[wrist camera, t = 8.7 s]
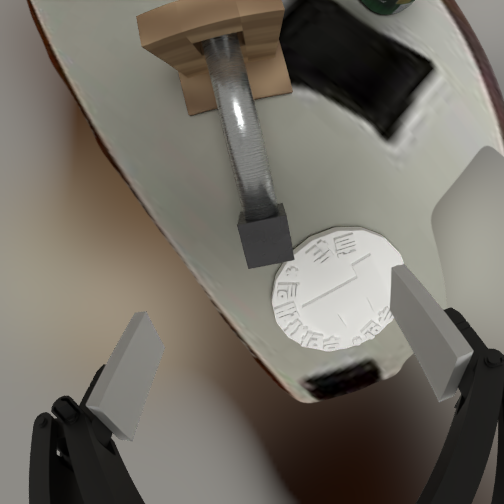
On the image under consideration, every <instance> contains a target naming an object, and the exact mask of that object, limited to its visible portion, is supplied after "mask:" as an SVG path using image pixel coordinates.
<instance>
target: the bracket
mask: <svg viewBox="0 0 504 504" xmlns="http://www.w3.org/2000/svg"><path fill="white" fill-rule="evenodd" d="M284 10H285V9H284V6H283V4H282V1H281V0H178V1H175V2H172V3H169V4H166V5H163V6H161V7H158V8H155V9H153V10H150V11H148V12H145V13H143V14H141V15H138V16H136V17H137V23H138V29H139V35H140V40H141V45H142V47H143V48H144V49H146V50H147V51H149V52H151V53H152V54H154V55H155V56H157V57H158V58H160V59H161V60H163V61H164V62H166V63H167V64H169V65H170V66H172V67H173V68H175V69H176V70H178V73H179V77H180V81H181V85H182V90H183V94H184V98H185V102H186V106H187V110H188V114H189V115H190V116H192V115H196V114H199V113H203V112H206V111H210V110H214V109H217V108H218V107H217V103H216V99H215V95H214V91H213V87H212V83H211V79H210V75H209V71H208V67H207V63H206V58H205V54H204V50H203V46H202V42H201V41H203V40H207V39H210V38H214V37H218V36H222V35H226V34H230V33H235V32H236V33H237V36H238V40H239V44H240V48H241V51H242V55H243V59H244V63H245V66H246V70H247V74H248V78H249V82H250V86H251V90H252V94H253V98H254V100H256V99H261V98H266V97H271V96H277V95H283V94H289V93H292V92H293V91H292V87H291V83H290V79H289V75H288V71H287V67H286V64H285V60H284V56H283V53H282V49H281V46H280V42H279V35H280V30H281V25H282V20H283V15H284Z"/></svg>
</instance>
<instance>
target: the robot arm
mask: <svg viewBox="0 0 504 504" xmlns="http://www.w3.org/2000/svg"><path fill="white" fill-rule="evenodd" d="M390 312H391V313H392V315H393V317H394V318H395V320H396V322H397V323H398V325H399V327H400V329H401V330H402V332H403V334H404V336H405V337H406V339H407V341H408V343H409V345H410V346H411V348H412V350H413V352H414V354H415V356H416V357H417V359H418V361H419V363H420V365H421V367H422V369H423V371H424V373H425V375H426V376H427V379H428V381H429V383H430V384H431V387H432V389H433V391H434V392H435V395H436V397H437V399H438V401H439V402H441V401H443V400H446V399H447V398H450V397H452V396H454V395H455V393H456V390H457V388H459V390H460V392H461V396H460V398H459V400H458V401H457V403H456V405H455V408H456V412H455V414H454V418H453V421H452V424H451V427H450V430H449V433H448V435H447V438H446V440H445V443H444V446H443V448H442V451H441V453H440V456H439V458H438V460H437V463H436V465H435V467H434V469H433V471H432V473H431V475H430V477H429V480H428V482H427V484H426V486H425V487H424V489H423V491H422V493H421V495H420V497H419V499H418V500H417V502H416V504H471V503H472V501H473V499H474V496H475V494H476V491H477V489H478V486H479V484H480V481H481V478H482V475H483V473H484V470H485V467H486V463H487V460H488V457H489V454H490V450H491V447H492V443H493V439H494V435H495V431H496V426H497V422H498V454H497V467H496V476H495V484H494V491H493V497H492V502H491V504H504V355H503V354H502V353H501V352H500V351H498V350H496V349H488V348H487V347H486V345H485V344H484V343H483V341H482V340H481V339H480V338H479V336H478V335H477V334H476V332H475V331H474V330H473V329H472V327H470V325H469V323H468V322H466V320H465V318H464V317H463V316H462V315H461V314H460V313H459V312H458V311H456V310H455V309H453V308H448V309H445V310H443V309H442V308H441V307H440V305H439V304H438V303H437V302H436V300H435V299H434V298H433V297H432V296H431V294H430V293H429V292H428V291H427V290H426V288H425V287H424V286H423V285H422V284H421V283H420V281H419V280H418V279H417V278H416V277H415V276H414V274H413V273H412V272H411V271H410V270H409V269H408V268H407V267H406V265H405V264H402V265H398V266H394V267H391V295H390ZM164 349H165V347H164V345H163V343H162V341H161V339H160V337H159V336H158V334H157V332H156V330H155V328H154V326H153V324H152V322H151V320H150V318H149V316H148V314H147V312H138V313H135V314H134V316H133V317H132V319H131V321H130V322H129V324H128V326H127V328H126V329H125V331H124V333H123V335H122V336H121V338H120V340H119V342H118V343H117V345H116V347H115V349H114V351H113V353H112V355H111V356H110V358H109V360H108V362H107V364H106V365H103V366H102V367H101V368H100V369H99V370H98V371H97V372H96V374H95V376H94V378H93V381H92V382H91V383H90V387H88V389H87V391H86V393H85V395H84V397H83V399H82V401H81V403H80V405H79V406H78V405H77V403H76V402H75V401H73V399H72V398H71V397H69V396H62V397H60V398H58V399H57V400H56V401H55V402H54V404H53V406H52V410H51V412H52V413H53V414H54V415H55V416H56V417H57V418H56V419H54V418H53V417H52V416H51V415H50V414H49V413H47V412H45V413H42V414H40V415H39V416H37V418H36V420H35V422H34V426H33V433H32V442H31V453H30V468H29V504H145V503H144V501H143V499H142V498H141V496H140V494H139V492H138V490H137V489H136V487H135V485H134V483H133V481H132V479H131V477H130V475H129V473H128V471H127V469H126V467H125V465H124V463H123V461H122V458H121V456H120V454H119V452H118V449H117V447H116V445H115V442H114V441H113V440H112V439H111V436H112V433H113V434H115V435H116V437H118V438H119V439H121V440H127V441H133V438H134V435H135V432H136V429H137V425H138V422H139V419H140V416H141V413H142V410H143V407H144V405H145V402H146V399H147V396H148V393H149V390H150V387H151V385H152V381H153V379H154V376H155V374H156V371H157V368H158V365H159V363H160V360H161V357H162V354H163V352H164ZM57 450H58V451H59V452H60V456H58V455H57Z"/></svg>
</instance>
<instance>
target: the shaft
mask: <svg viewBox="0 0 504 504" xmlns="http://www.w3.org/2000/svg"><path fill="white" fill-rule="evenodd" d="M201 42H202V46H203V50H204V54H205V58H206V63H207V67H208V71H209V75H210V79H211V83H212V87H213V91H214V95H215V99H216V103H217V107H218V111H219V115H220V119H221V123H222V127H223V131H224V136H225V140H226V144H227V148H228V152H229V156H230V160H231V164H232V168H233V172H234V176H235V180H236V184H237V188H238V192H239V197H240V201H241V205H242V209H243V211H242V212H240V216H239V220H238V224H237V226H238V230H239V234H240V238H241V242H242V246H243V250H244V254H245V257H246V261H247V265H248V269H250V268H256V267H261V266H266V265H271V264H277V263H282V262H287V261H292V260H295V259H294V254H293V248H292V243H291V237H290V232H289V227H288V221H287V216H286V213H285V209H284V206H283V203H281V204H277V200H276V195H275V190H274V185H273V181H272V176H271V171H270V167H269V162H268V158H267V153H266V149H265V145H264V140H263V136H262V131H261V127H260V123H259V119H258V115H257V110H256V106H255V102H254V98H253V94H252V90H251V86H250V82H249V78H248V74H247V70H246V66H245V63H244V59H243V55H242V51H241V48H240V44H239V40H238V36H237V33H236V32H235V33H230V34H226V35H222V36H218V37H214V38H210V39H207V40H203V41H201Z"/></svg>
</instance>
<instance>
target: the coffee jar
mask: <svg viewBox="0 0 504 504" xmlns="http://www.w3.org/2000/svg"><path fill="white" fill-rule="evenodd" d="M361 1H362V2H363V3H364V4H365V5H366V6H367V7H368V8H369V9H371V10H372V11H374V12H376V13H379V14H384V15H388V14H394V13H397V12H400V11H402V10H404V9H405V8H407V7H408V6H409V5H410V4H411V3H413V2H414V1H415V0H361Z"/></svg>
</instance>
